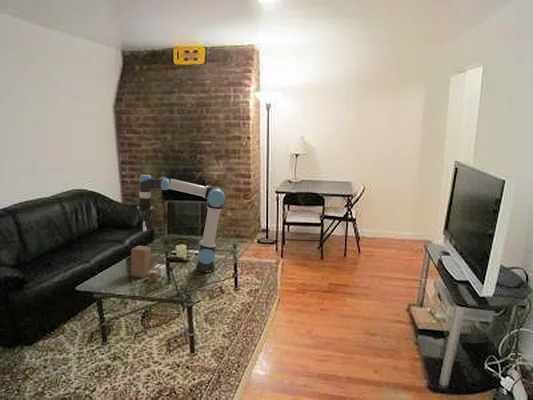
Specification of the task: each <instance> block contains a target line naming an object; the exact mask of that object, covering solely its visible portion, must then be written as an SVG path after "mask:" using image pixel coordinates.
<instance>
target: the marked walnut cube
mask: <svg viewBox="0 0 533 400" xmlns="http://www.w3.org/2000/svg"><path fill="white" fill-rule="evenodd" d="M158 277H159V276H158V270H154V269H153V270H152V269H150V270H149V271H148V275H147V282H148V283H149V282H150V283H151V282H153V283H155V282H156V283H157V281H158Z"/></svg>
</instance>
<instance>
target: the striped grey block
mask: <svg viewBox="0 0 533 400" xmlns="http://www.w3.org/2000/svg"><path fill="white" fill-rule="evenodd" d="M166 269H167V265H166V264H161V263H158V264H156V265H154V266H153V270H158V277H162V276H164V275H165V274H166V273H167V272H166V271H167V270H166Z"/></svg>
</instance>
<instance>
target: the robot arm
mask: <svg viewBox="0 0 533 400" xmlns="http://www.w3.org/2000/svg"><path fill="white" fill-rule="evenodd" d="M138 183H139V193H138V197H139V198H138V201H139V203H138V205H137V206H136V207H134V209H135V210H136V213H137V218H138V221H140V222H141V227H142V232H147V227H148V225H149V224H148V222H150V221H151V219H152V216H153V212H154V210H155V207H153V206H152V204H151V203H152V201H151V200H152V199H151V196H152V190H160V191H161V190H162V191H168V190H173V191H178V192H182V193H187V194H190V195H195V196H200V197H203V198H204V199H206V200H207V201H206V206H205V207H206V208H207V214H206V219H205V225H204V230H203V236H202V239H200V240H199V241H198V252H197V262H196V264H195V269H194V270H195V271H196V272H198V273H202V272H206V271H213V272H215V271H216V264H215V255H216V254H215V253H216V247H217V244H216V243H215V241H216V236H217V229H218V225H219V218H220V213H221V211H222V210H223V208H224V203H225V201H226V196H225V191H223V189H222V188H221V187H218V186H211V185H206V186H204V185H201V184H197V183H191V182H188V181H182V180H179V179H174V178H169V177H166V176H163V175H162V176H159V177H158V178H153V177H152V175H150V174H141V175H140V176H139V182H138ZM140 210H141V211H140ZM214 270H215V271H214Z"/></svg>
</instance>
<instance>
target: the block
mask: <svg viewBox="0 0 533 400" xmlns="http://www.w3.org/2000/svg"><path fill="white" fill-rule="evenodd" d="M130 251H131V252H130V253H131V255H130V257H131V258H130V259H131V260H130V262H131V263H130V276H131V277H135V278H142V279H143V278H145V277H148V271H149V270H151V254H152V247H150V246H144V245H137V246H134V247H132V248H131V250H130Z"/></svg>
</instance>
